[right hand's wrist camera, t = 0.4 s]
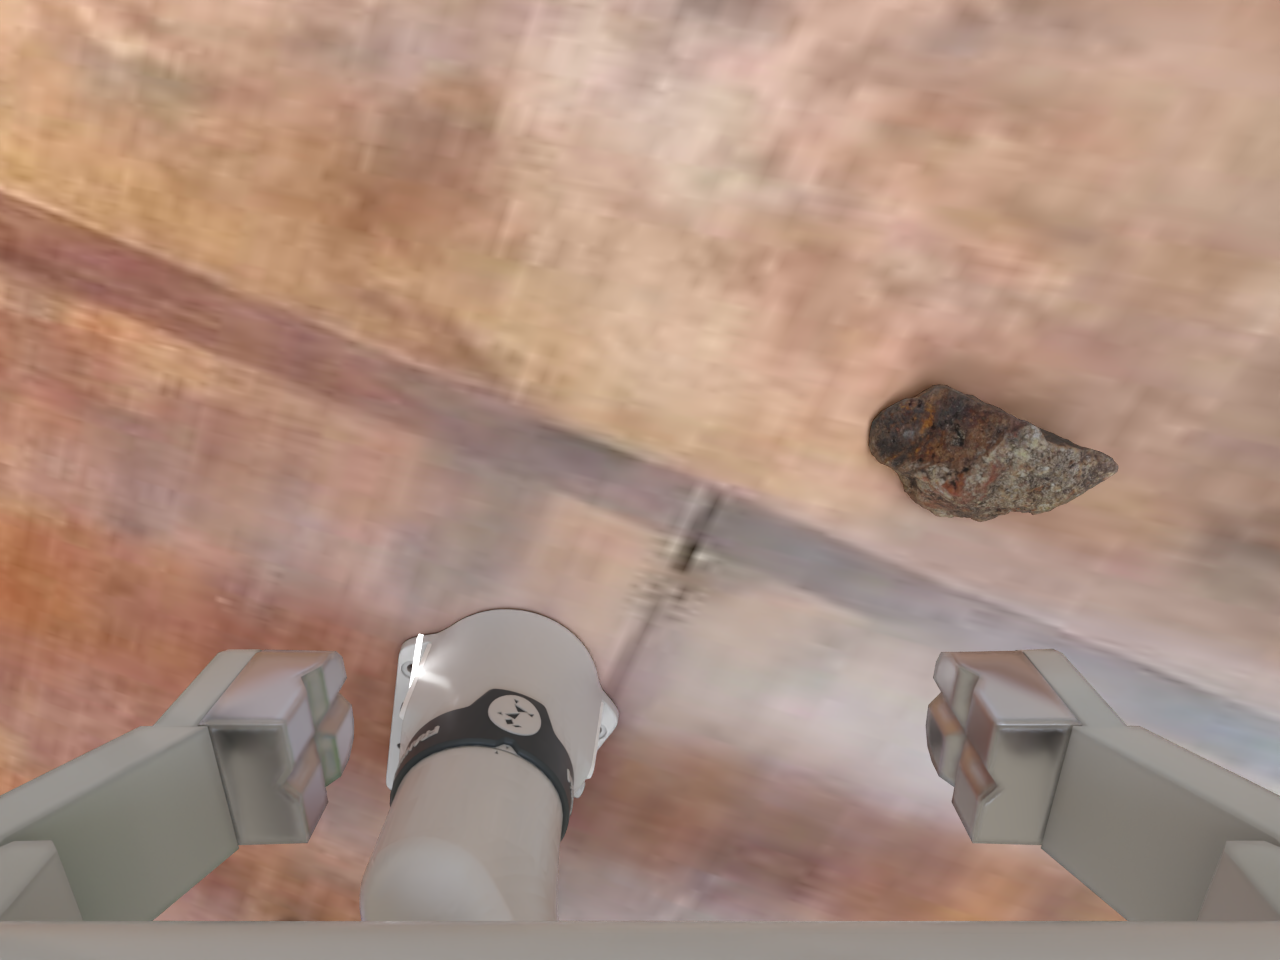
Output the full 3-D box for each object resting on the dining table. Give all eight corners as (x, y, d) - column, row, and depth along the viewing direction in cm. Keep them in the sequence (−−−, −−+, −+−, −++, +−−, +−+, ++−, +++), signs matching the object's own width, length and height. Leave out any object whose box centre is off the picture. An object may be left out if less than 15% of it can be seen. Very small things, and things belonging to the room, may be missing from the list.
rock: (930, 338, 54) (842, 450, 57) (973, 358, 46) (868, 487, 49) (1086, 449, 56) (994, 552, 59) (1154, 486, 48) (1043, 604, 50)
